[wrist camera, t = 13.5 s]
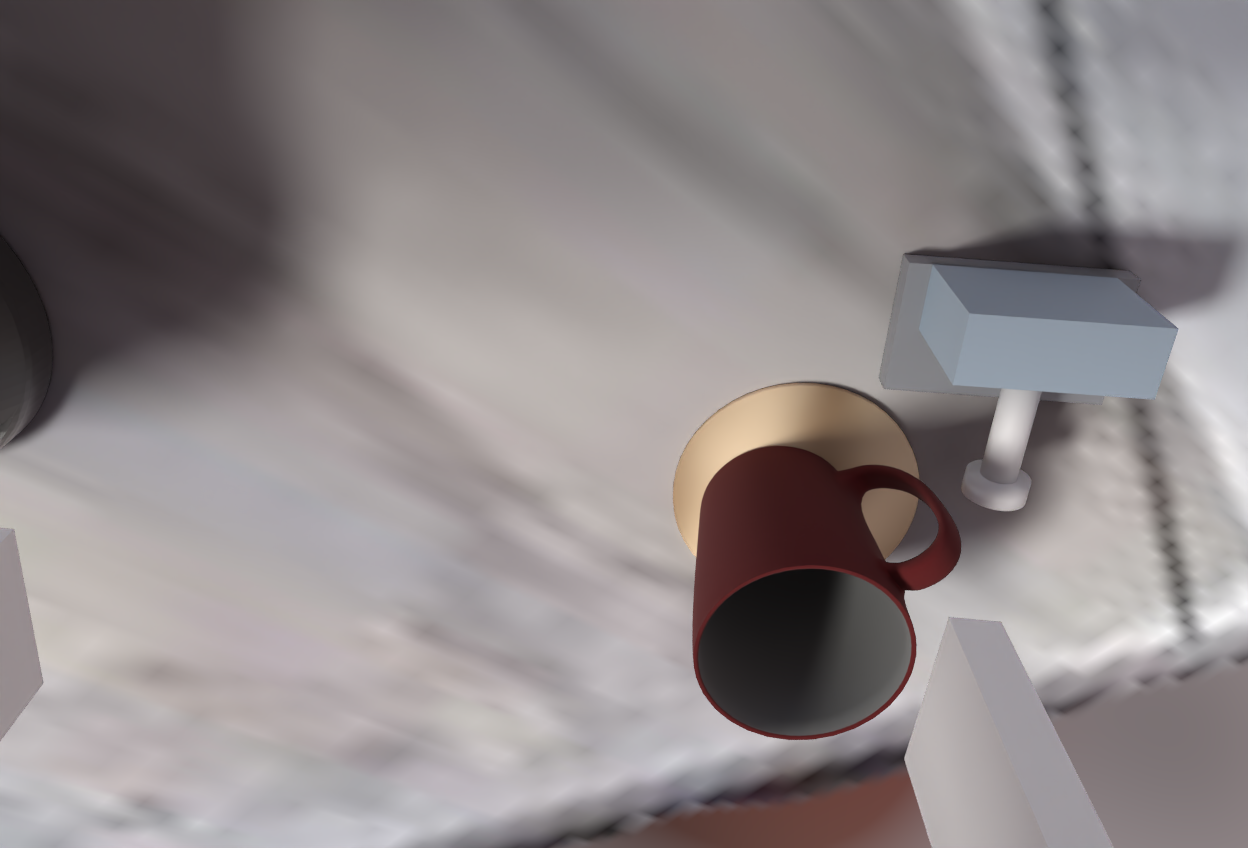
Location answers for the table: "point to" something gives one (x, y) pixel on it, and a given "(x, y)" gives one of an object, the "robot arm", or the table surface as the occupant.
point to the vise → (1020, 348)
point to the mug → (805, 594)
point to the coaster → (806, 421)
